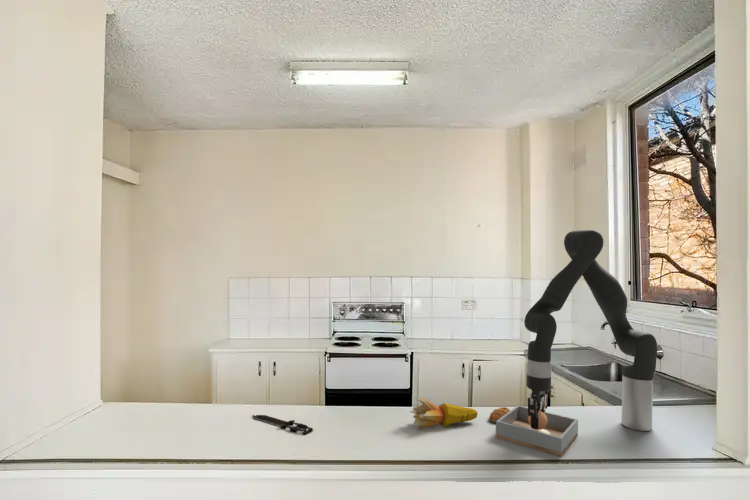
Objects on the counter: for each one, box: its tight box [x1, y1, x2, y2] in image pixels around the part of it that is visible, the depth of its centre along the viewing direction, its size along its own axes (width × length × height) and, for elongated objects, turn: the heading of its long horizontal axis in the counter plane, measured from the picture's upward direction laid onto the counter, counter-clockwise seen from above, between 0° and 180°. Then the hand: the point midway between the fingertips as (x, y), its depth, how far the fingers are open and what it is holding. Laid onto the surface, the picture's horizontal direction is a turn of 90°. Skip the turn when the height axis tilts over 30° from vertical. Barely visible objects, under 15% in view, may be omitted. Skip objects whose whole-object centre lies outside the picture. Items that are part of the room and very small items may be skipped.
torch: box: [409, 397, 478, 430], centre depth 148 cm, size 8×8×25 cm
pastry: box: [489, 406, 511, 424], centre depth 154 cm, size 9×7×4 cm
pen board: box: [495, 418, 579, 457], centre depth 140 cm, size 20×20×1 cm
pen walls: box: [495, 404, 579, 453], centre depth 140 cm, size 20×20×4 cm
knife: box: [251, 414, 314, 436], centre depth 145 cm, size 25×6×1 cm, turn 54°
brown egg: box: [528, 411, 548, 430], centre depth 141 cm, size 6×6×6 cm
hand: (537, 425), depth 141 cm, fingers closed on brown egg, 5 cm apart
